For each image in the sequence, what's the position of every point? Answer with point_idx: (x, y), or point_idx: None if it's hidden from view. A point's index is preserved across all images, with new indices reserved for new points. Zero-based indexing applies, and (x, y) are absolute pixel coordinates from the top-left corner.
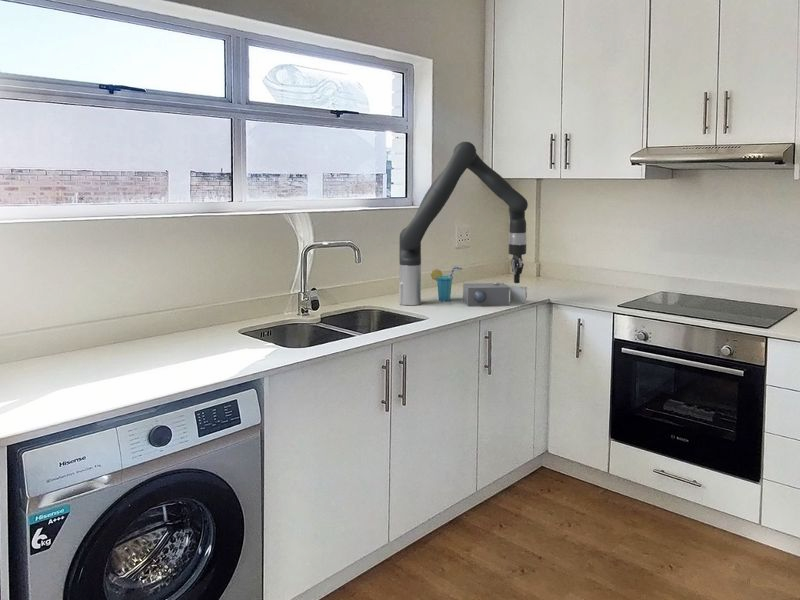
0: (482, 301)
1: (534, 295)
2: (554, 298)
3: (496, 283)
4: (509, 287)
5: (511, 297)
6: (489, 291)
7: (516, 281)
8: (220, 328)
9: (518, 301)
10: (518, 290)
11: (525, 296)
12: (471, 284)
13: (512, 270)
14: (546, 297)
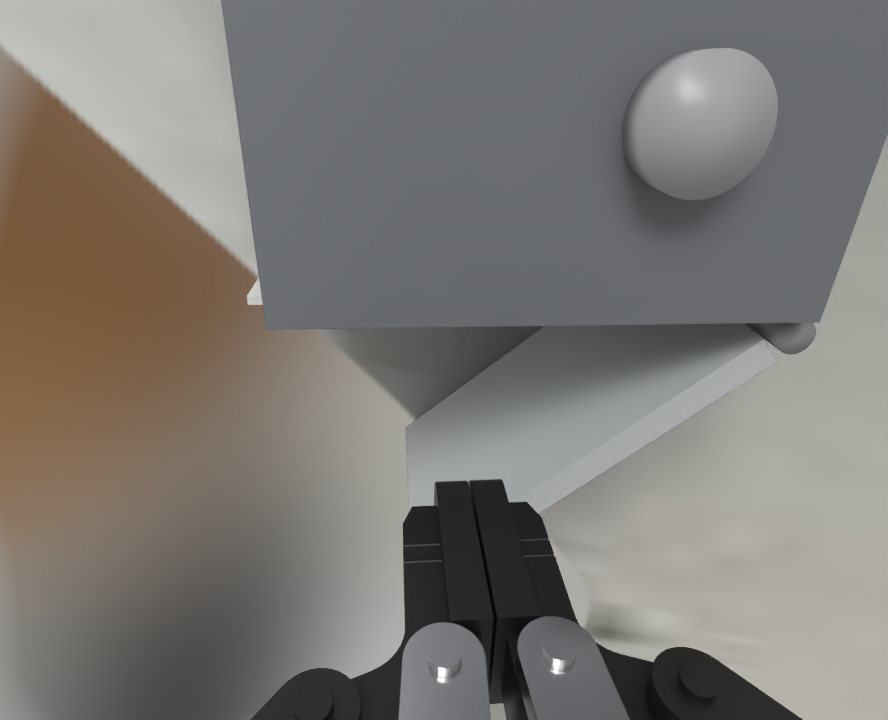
0: None
1: (818, 575)
2: None
3: (638, 108)
4: (265, 320)
5: (571, 334)
6: None
7: (407, 525)
8: None
9: (477, 380)
10: (503, 457)
11: (410, 478)
12: None
13: (691, 689)
14: (695, 633)
